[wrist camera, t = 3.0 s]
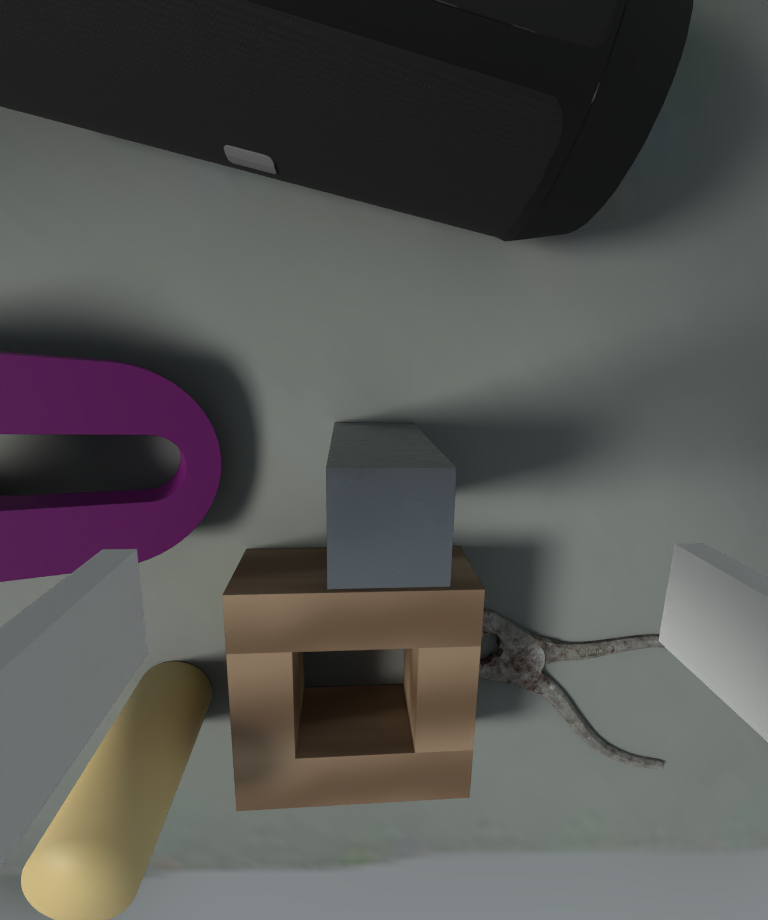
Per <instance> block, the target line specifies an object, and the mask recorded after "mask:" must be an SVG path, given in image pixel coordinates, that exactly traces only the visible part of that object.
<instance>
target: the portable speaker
mask: <svg viewBox="0 0 768 920" xmlns="http://www.w3.org/2000/svg"><path fill="white" fill-rule="evenodd" d="M692 9H693V0H0V106H1V107H5V108H9V109H13V110H16V111H20V112H24V113H28V114H32V115H35V116H39V117H43V118H47V119H51V120H54V121H58V122H62V123H66V124H69V125H73V126H77V127H81V128H85V129H88V130H92V131H96V132H100V133H104V134H107V135H111V136H115V137H119V138H123V139H126V140H130V141H134V142H138V143H142V144H145V145H149V146H153V147H157V148H160V149H164V150H168V151H172V152H176V153H179V154H183V155H187V156H191V157H195V158H198V159H202V160H206V161H210V162H214V163H217V164H221V165H225V166H229V167H233V168H236V169H240V170H244V171H248V172H251V173H255V174H259V175H263V176H267V177H270V178H274V179H278V180H282V181H286V182H289V183H293V184H297V185H301V186H305V187H308V188H312V189H316V190H320V191H324V192H327V193H331V194H335V195H339V196H342V197H346V198H350V199H354V200H358V201H361V202H365V203H369V204H373V205H377V206H380V207H384V208H388V209H392V210H396V211H399V212H403V213H407V214H411V215H415V216H418V217H422V218H426V219H430V220H433V221H437V222H441V223H445V224H449V225H452V226H456V227H460V228H464V229H468V230H471V231H475V232H479V233H483V234H487V235H490V236H494V237H497V238H500V239H501V240H503V241H513V240H522V239H529V238H537V237H544V236H552V235H559V234H567V233H570V232H572V231H575V230H577V229H579V228H580V227H581V226H583V225H584V224H586V223H587V222H588V221H589V220H590V219H591V218H592V217H593V216H594V215H595V214H596V213H597V212H598V211H599V210H600V209H601V208H602V207H603V206H604V204H605V203H606V202H607V201H608V199H609V198H610V197H611V196H612V194H613V193H614V192H615V190H616V189H617V187H618V186H619V184H620V183H621V181H622V179H623V178H624V176H625V175H626V173H627V172H628V170H629V169H630V167H631V165H632V164H633V162H634V160H635V159H636V157H637V155H638V153H639V152H640V150H641V148H642V146H643V145H644V143H645V141H646V139H647V137H648V135H649V133H650V131H651V129H652V127H653V124H654V122H655V120H656V118H657V116H658V114H659V112H660V110H661V108H662V106H663V103H664V101H665V99H666V96H667V94H668V91H669V89H670V86H671V84H672V82H673V79H674V76H675V73H676V70H677V68H678V65H679V62H680V59H681V56H682V52H683V49H684V45H685V42H686V39H687V34H688V29H689V24H690V19H691V14H692Z"/></svg>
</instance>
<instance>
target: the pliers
mask: <svg viewBox="0 0 768 920" xmlns="http://www.w3.org/2000/svg"><path fill="white" fill-rule="evenodd" d="M489 633H490V634H497V635H498V640H497V644H498V646H499V648H500V649H499V651H498V653H494V652H492V653H491V654H490V655H489V656H488V657H487V658H485V659H480V664H479V677H480V678H484V679H489V680H493V681H497V682H504V683H510V684H511V682H512V683H513V684H515V685H517V686H520V687H522V688H524V689H526V690H529V691H535V692H537V693H539V694H541V695H542V696H543V697H544V698H546V699H547V700H548V701H549V702H550V703H551V704H552V705H553V706H554V707H555V708H556V709H557V710H558V711H559V712H560V713H561V715H562V716H563V717H564V718H565V719H566V720H567V722H568V723H569V724H570V725H571V726H572V727H573V729H574V730H575V731H576V732H577V733H578V734H579V735H580V737H581V738H582V739H583V740H585V741H586V742H587V743H588V744H589V745H590V746H591V747H593V748H594V749H596V750H597V751H599V752H600V753H602V754H604V755H606V756H608V757H610V758H612V759H615V760H618V761H620V762H623V763H626V764H630V765H634V766H638V767H645V768H656V769H663V766H664V764H663V763H662V762H661V760H659V759H653V758H646V757H640V756H636V755H632V754H628V753H626V752H624V751H621V750H619V749H617V748H615V747H613V746H611V745H609V744H608V743H606V742H605V741H603V740H602V739H601V738H600V737H598V736H597V735H596V734H595V733H594V732H593V730H592V729H591V728H590V727H589V726H588V724H587V723H586V722H585V720H584V719H583V718H582V716H581V715H580V714H579V712H578V711H577V709H576V708H575V707H574V705H573V704H572V702H571V700H570V699H569V698H568V696H567V695H566V694H565V693H564V691H563V690H562V689H561V688H560V687H559V686H558V685H557V684H556V683H555V682H554V681H553V680H552V679H551V678H550V677H549V676H547V675H546V674H545V673H544V672H543V671H541V670H542V668H543V666H544V664H548V663H550V662H555V661H569V660H582V659H588V658H594V657H599V656H604V655H608V654H613V653H618V652H623V651H629V650H635V649H641V648H649V647H665V646H663V645H662V644H661V643H660V642H659V635H653V634H651V635H635V636H627V637H620V638H612V639H605V640H597V641H588V642H562V641H555V640H553V639H548V638H544V637H540V636H536V635H533V634H532V633H530V632H528V631H526V630H525V629H523V628H521V627H519V626H518V625H516V624H514V623H512V622H511V621H509V620H507V619H505V618H504V617H502V616H500V615H498V614H497V613H495V612H493V611H488V610H483V624H482V637H484V636H486V635H488V634H489Z"/></svg>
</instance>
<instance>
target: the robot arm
mask: <svg viewBox="0 0 768 920" xmlns="http://www.w3.org/2000/svg"><path fill="white" fill-rule="evenodd" d="M659 642H660V643H661V644H662V645H663V646H665V647H666V648H667V649H668V650H669V651H670V652H671V653H672V654H673V655H674V656H675V657H676V658H677V659H679V660H680V661H681V662H682V663H683V664H684V665H685V666H686V667H687V668H688V669H689V670H690V671H692V672H693V673H694V674H695V675H696V676H697V677H698V678H699V679H700V680H701V681H702V682H703V683H704V684H706V685H707V686H708V687H709V688H710V689H711V690H712V691H713V692H714V693H715V694H716V695H717V696H719V697H720V698H721V699H722V700H723V701H724V702H725V703H726V704H727V705H728V706H729V707H730V708H731V709H733V710H734V711H735V712H736V713H737V714H738V715H739V716H740V717H741V718H742V719H743V720H744V721H745V722H747V723H748V724H749V725H750V726H751V727H752V728H753V729H754V730H755V731H756V732H757V733H758V734H760V735H761V736H762V737H763V738H764V739H765V740H766V741H767V742H768V577H766V576H764V575H762V574H760V573H758V572H756V571H754V570H753V569H751V568H749V567H747V566H745V565H743V564H741V563H739V562H737V561H736V560H734V559H732V558H730V557H728V556H726V555H724V554H722V553H721V552H719V551H717V550H715V549H713V548H711V547H709V546H707V545H705V544H704V543H699V544H675V545H674V551H673V557H672V563H671V569H670V575H669V581H668V587H667V593H666V599H665V605H664V611H663V617H662V623H661V629H660V635H659ZM147 654H148V651H147V641H146V632H145V622H144V613H143V603H142V594H141V584H140V575H139V565H138V556H137V549H102V550H101V551H100V552H98V553H97V554H96V555H95V556H93V557H92V558H91V559H89V560H88V561H87V562H85V563H84V564H83V565H82V566H80V567H79V568H78V569H76V570H75V571H74V572H72V573H71V574H70V575H69V576H67V577H66V578H65V579H63V580H62V581H61V582H60V583H58V584H57V585H56V586H54V587H53V588H52V589H50V590H49V591H48V592H47V593H45V594H44V595H43V596H41V597H40V598H39V599H37V600H36V601H35V602H34V603H32V604H31V605H30V606H28V607H27V608H26V609H25V610H23V611H22V612H21V613H19V614H18V615H17V616H15V617H14V618H13V619H12V620H10V621H9V622H8V623H6V624H5V625H4V626H2V627H1V628H0V868H1V866H2V865H3V864H4V862H5V861H6V859H7V858H8V856H9V855H10V853H11V852H12V850H13V849H14V848H15V846H16V845H17V843H18V842H19V840H20V839H21V837H22V836H23V834H24V833H25V832H26V830H27V829H28V827H29V826H30V824H31V823H32V821H33V820H34V819H35V817H36V816H37V814H38V813H39V811H40V810H41V808H42V807H43V805H44V804H45V803H46V801H47V800H48V798H49V797H50V795H51V794H52V792H53V791H54V789H55V788H56V787H57V785H58V784H59V782H60V781H61V779H62V778H63V776H64V775H65V773H66V772H67V771H68V769H69V768H70V766H71V765H72V763H73V762H74V760H75V759H76V757H77V756H78V755H79V753H80V752H81V750H82V749H83V747H84V746H85V744H86V743H87V741H88V740H89V739H90V737H91V736H92V734H93V733H94V731H95V730H96V728H97V727H98V725H99V724H100V723H101V721H102V720H103V718H104V717H105V715H106V714H107V712H108V711H109V710H110V708H111V707H112V705H113V704H114V702H115V701H116V699H117V698H118V696H119V695H120V694H121V692H122V691H123V689H124V688H125V686H126V685H127V683H128V682H129V680H130V679H131V678H132V676H133V675H134V673H135V672H136V670H137V669H138V667H139V666H140V664H141V663H142V662H143V660H144V659H145V657H146V656H147Z"/></svg>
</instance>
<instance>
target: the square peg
mask: <svg viewBox="0 0 768 920" xmlns="http://www.w3.org/2000/svg"><path fill="white" fill-rule="evenodd" d="M456 471H457V468H456V467H455V466H454V465H453V464H452V463H451V462H450V461H449V460H448V458H447V457H446V456H445V455H444V454H443V453H442V452H441V451H440V450H439V449H438V448H437V447H436V446H435V445H434V444H433V443H432V442H431V441H430V440H429V439H428V437H427V436H426V435H425V434H424V433H423V432H422V431H421V430H420V429H419V428H418V427H417V426H416V425H415V424H414V423H358V422H335V423H334V429H333V434H332V439H331V445H330V450H329V455H328V461H327V466H326V507H327V589H356V588H403V587H450V579H451V561H452V543H453V525H454V507H455V489H456Z"/></svg>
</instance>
